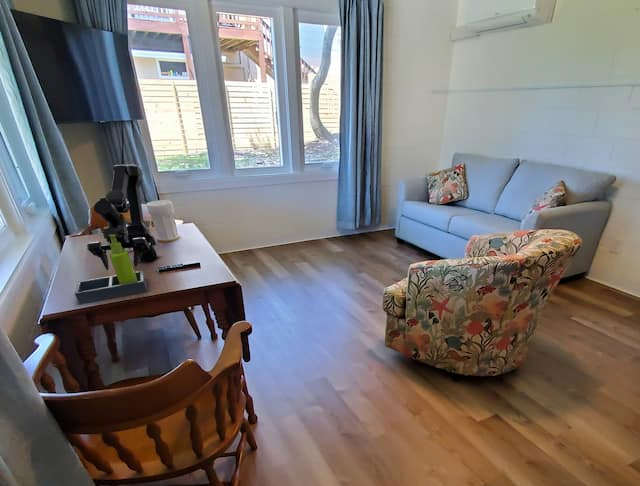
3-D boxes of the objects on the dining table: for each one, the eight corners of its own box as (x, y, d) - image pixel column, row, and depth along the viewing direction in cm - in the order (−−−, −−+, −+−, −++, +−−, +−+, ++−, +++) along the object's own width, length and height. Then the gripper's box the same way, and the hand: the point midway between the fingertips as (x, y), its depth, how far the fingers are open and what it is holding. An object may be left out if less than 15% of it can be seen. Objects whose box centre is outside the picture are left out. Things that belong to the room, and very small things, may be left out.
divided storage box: (82, 291, 146) (77, 281, 144) (145, 280, 154) (142, 270, 152) (79, 304, 138) (74, 293, 135) (146, 291, 146) (143, 281, 143)
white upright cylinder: (175, 242, 191) (165, 205, 182) (152, 242, 192) (141, 206, 182) (184, 235, 201) (175, 199, 192) (162, 235, 201) (152, 200, 192)
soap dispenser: (127, 282, 151) (109, 230, 140) (142, 284, 149) (125, 232, 138) (115, 288, 146) (95, 235, 135) (130, 290, 144) (111, 237, 134)
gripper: (78, 219, 135) (81, 262, 132) (137, 214, 139) (142, 255, 136) (93, 235, 146) (96, 274, 143) (147, 230, 150) (152, 268, 147)
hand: (121, 268), depth 142 cm, fingers open, 9 cm apart
